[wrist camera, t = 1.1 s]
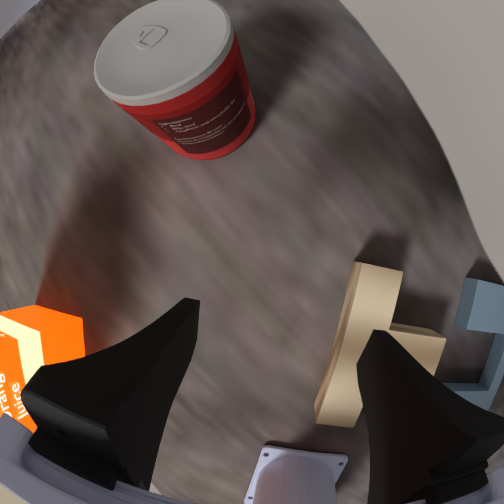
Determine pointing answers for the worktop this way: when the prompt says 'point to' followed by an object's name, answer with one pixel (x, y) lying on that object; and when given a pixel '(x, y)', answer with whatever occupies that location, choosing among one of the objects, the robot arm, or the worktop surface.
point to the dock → (486, 320)
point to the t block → (357, 335)
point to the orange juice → (33, 351)
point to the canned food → (180, 76)
